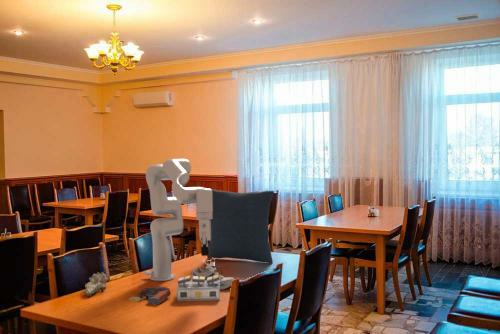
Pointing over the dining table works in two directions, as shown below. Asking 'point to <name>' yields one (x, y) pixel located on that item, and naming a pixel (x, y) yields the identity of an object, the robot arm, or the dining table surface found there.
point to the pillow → (240, 226)
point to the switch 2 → (198, 279)
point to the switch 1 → (184, 279)
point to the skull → (96, 283)
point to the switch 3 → (212, 279)
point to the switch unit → (198, 291)
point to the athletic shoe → (212, 272)
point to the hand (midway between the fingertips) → (205, 255)
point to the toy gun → (153, 295)
